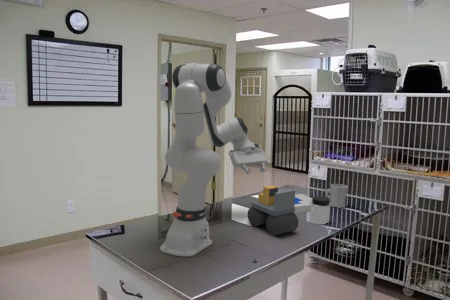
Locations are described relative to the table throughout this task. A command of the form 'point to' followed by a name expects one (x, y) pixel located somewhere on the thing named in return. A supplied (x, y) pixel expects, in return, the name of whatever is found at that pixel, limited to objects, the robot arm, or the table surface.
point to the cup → (337, 195)
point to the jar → (320, 210)
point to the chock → (268, 195)
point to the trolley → (275, 214)
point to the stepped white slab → (302, 203)
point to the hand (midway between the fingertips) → (256, 172)
